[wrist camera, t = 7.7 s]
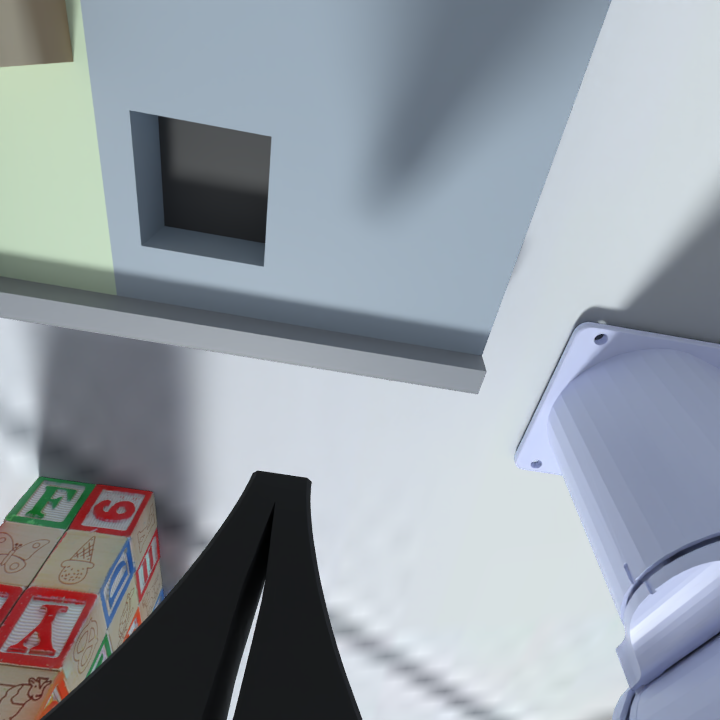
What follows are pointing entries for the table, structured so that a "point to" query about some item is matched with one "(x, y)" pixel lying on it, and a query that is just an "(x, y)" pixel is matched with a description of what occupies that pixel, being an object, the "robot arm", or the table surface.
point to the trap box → (288, 174)
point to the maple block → (34, 32)
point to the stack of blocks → (71, 587)
